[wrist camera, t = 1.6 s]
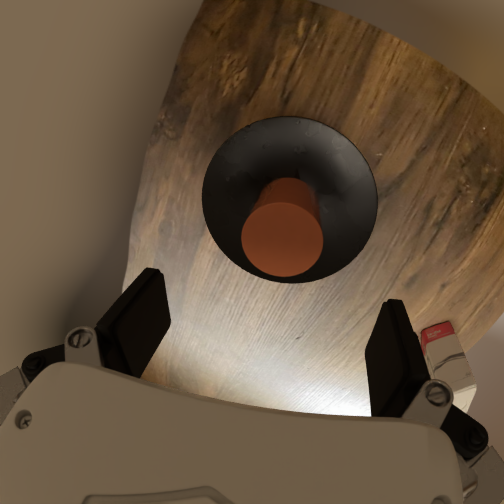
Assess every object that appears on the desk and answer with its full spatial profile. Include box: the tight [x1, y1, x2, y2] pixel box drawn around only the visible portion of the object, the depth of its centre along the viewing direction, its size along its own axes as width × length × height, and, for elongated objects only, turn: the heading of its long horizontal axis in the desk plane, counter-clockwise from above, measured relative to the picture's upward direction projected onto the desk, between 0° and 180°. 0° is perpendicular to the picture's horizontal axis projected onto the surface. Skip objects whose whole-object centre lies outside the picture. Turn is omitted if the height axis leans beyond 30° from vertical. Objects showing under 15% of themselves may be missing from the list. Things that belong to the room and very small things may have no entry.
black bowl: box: [202, 116, 378, 284], centre depth 25 cm, size 14×14×7 cm
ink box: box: [421, 322, 477, 413], centre depth 29 cm, size 9×5×12 cm, turn 22°
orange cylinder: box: [241, 178, 323, 277], centre depth 19 cm, size 5×5×6 cm
